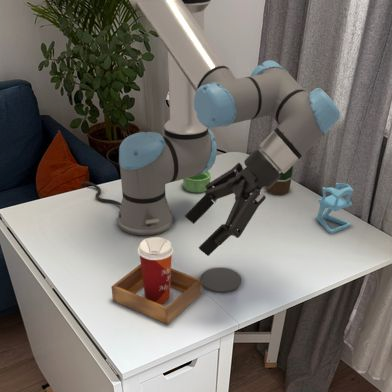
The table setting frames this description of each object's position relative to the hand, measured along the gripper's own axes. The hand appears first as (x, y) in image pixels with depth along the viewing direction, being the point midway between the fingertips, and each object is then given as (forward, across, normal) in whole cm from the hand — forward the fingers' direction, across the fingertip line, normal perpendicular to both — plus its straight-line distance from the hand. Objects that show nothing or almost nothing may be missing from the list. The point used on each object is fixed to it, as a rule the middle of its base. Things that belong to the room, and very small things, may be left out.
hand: (195, 235), depth 110 cm
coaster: (+6, +4, -16) cm, 17 cm away
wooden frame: (+17, 0, -5) cm, 18 cm away
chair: (-21, +24, -43) cm, 54 cm away
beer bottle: (-16, +48, -38) cm, 63 cm away
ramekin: (+2, +54, -20) cm, 58 cm away
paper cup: (+17, 0, -5) cm, 18 cm away
